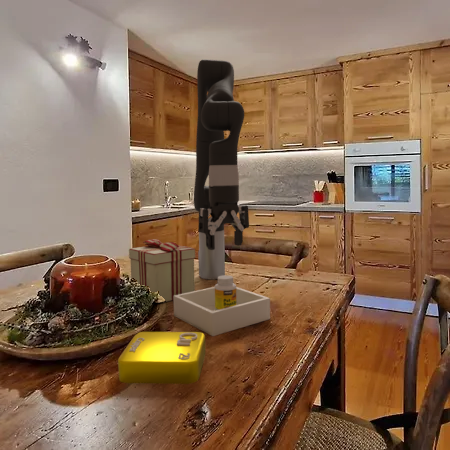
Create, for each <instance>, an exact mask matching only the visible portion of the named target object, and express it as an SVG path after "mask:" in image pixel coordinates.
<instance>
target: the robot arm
mask: <svg viewBox="0 0 450 450" xmlns="http://www.w3.org/2000/svg"><path fill="white" fill-rule="evenodd" d="M197 65H198V66H197V74H196V76H197V78H196V79H197V80H196V83H197V84H196V85H197V87H196V88H197V89H196V90H197V122H196V123H197V124H196V141H195V142H196V143H195V148H196V149H195V157H196V159H195V160H196V161H195V163H196V164H195V166H196V167H195V178H194V179H195V180H194V186H193V187H194V188H193V189H194V190H193V207H194V210H195V211H196V212H198V224H197V225H198V252H197V254H198V259H197V260H198V276H199V277H200V278H201V279H204V280H218V277H219V276H224V275H226V262H225V261H226V260H225V259H226V258H225V257H226V256H225V252H226V251H225V225H226V224H228V225H230V226H232V227H233V229H234V231H233V234H234V235H233V236H234V237H233V238H234V241H233V242H234V245H235V246H238V247H239V246H242V244H243V243H244V241H243V240H244V236H243V235H244V234H243V232H244V230H245V229H248V228H250V220H249V219H250V217H249V206H248V204H247V205H245V204H238V203H239V201H240V186H239V185H240V183H239V182H240V179H239V178H240V175H239V173H240V172H239V168H238V167H239V165H238V148H239V146H238V145H239V139H240V134H241V131H242V127H243V124H244V120H245V109H244V107H243V105H242V103H241V102H239V101H235V100H234V99H235V98H234V95H233V94H234V93H233V92H234V87H235V86H234V85H235V69H234V65H233V64H232V63H231V62H230V61H228V60H221V59H201V60H199V62H198V64H197ZM225 132H229V134H228V136H227V137H226V138H225ZM207 179H208V185H206V183H207Z"/></svg>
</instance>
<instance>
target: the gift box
mask: <svg viewBox="0 0 450 450" xmlns="http://www.w3.org/2000/svg"><path fill="white" fill-rule="evenodd" d="M142 243H143V244H144V245H145V246H139V247H132V248H128V258H129V259H130V279H131V278H134V279H136V280H137V282H138V284H140V285H145V286H149V288H150V291H151V292H157V291H159V295H160V296H162V297H163V298H164V299H165V301H166V302H171V301H174V300H173V296H174V295H179V294H184V293H188V292H193V291H196V290H195V259H196V248H194V247H191V246H185V245H179V244H177V243H175V242H173V241H170V242H161V240H159V239H156V238H155V239H154V238H153V239H148V240H143V241H142ZM166 302H165V303H166Z"/></svg>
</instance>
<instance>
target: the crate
mask: <svg viewBox="0 0 450 450" xmlns="http://www.w3.org/2000/svg"><path fill="white" fill-rule="evenodd" d="M172 301H173V316H174V317H175V318H178V319H179V320H181V321H182V322H185V323H187V324H189V325H191V326H193V327H194V328H196V329H199V330H200V331H201V332H204V333H205V334H208V335H209V336H211V337H215V336H219V335H221V334H225V333H229V332H231V331H234V330H235V331H236V330H238V329H241V328H244V327H249V326H250V325H252V326H253V325H254V324H258V323H261V322H264V321H268V320H270V319H271V298H270V297H267V296H264V295H262V294H260V293H256V292H253V291H251V290H250V291H249V290H248V289H244V288H241V287H237V286H236V303H237V305H235V306H232V307H228V308H224V309H220V310H216V311H215V286H212V287H207V288H204V289H198V290H195V291H193V292H188V293H184V294H179V295H174V296H173V300H172Z"/></svg>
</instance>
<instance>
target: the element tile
mask: <svg viewBox="0 0 450 450" xmlns="http://www.w3.org/2000/svg"><path fill="white" fill-rule="evenodd" d="M206 352H207V351H206V335H205V334H204V333H203V331H140V332H137V333H136V334H135V335H134V336H133V337H132V339H131V341H130V342H129V343H128V344H127V346H126V348H124V350H123V352H121V354H120V356H119V357H118V359H117V365H118V366H117V367H118V368H117V370H118V380H119V382H120V383H124V384H165V385H167V384H172V385H174V384H175V385H176V384H177V385H179V384H181V385H189V384H194V383H196V382H198V381H199V379H200V377H201V373H202V369H203V364H204V361H205V356H206Z"/></svg>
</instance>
